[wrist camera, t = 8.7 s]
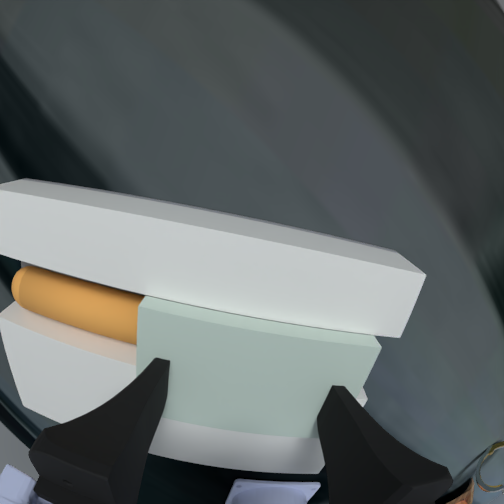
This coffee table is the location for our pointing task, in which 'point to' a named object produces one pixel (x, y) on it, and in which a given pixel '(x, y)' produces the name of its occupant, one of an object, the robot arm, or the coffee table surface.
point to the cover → (248, 367)
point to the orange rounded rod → (78, 303)
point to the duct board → (184, 300)
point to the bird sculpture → (465, 495)
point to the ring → (478, 478)
